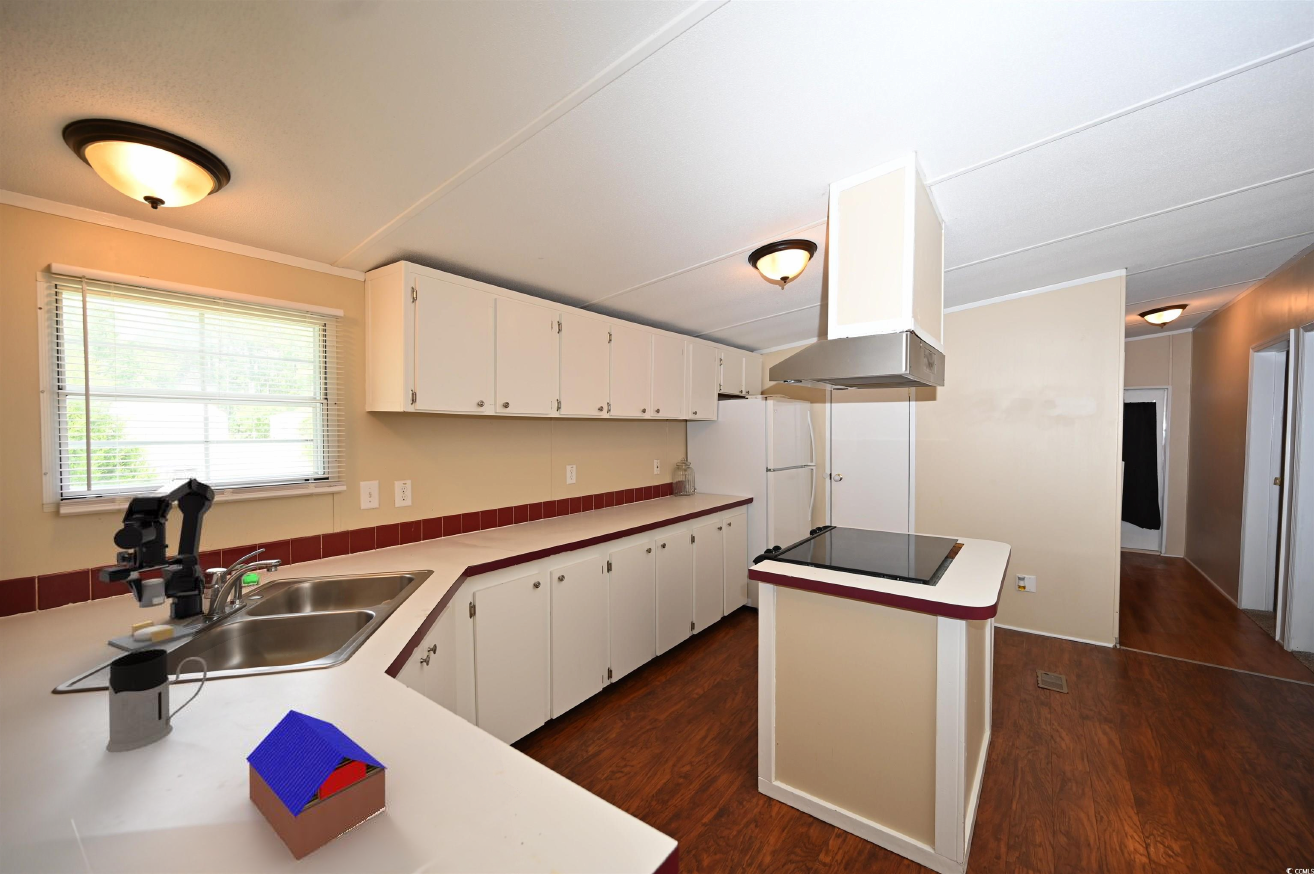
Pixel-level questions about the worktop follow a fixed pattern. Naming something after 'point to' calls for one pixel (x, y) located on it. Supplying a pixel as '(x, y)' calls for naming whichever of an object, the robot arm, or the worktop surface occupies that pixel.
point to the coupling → (152, 593)
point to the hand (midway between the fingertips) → (152, 598)
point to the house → (313, 782)
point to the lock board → (148, 643)
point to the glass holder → (141, 699)
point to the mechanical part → (250, 579)
